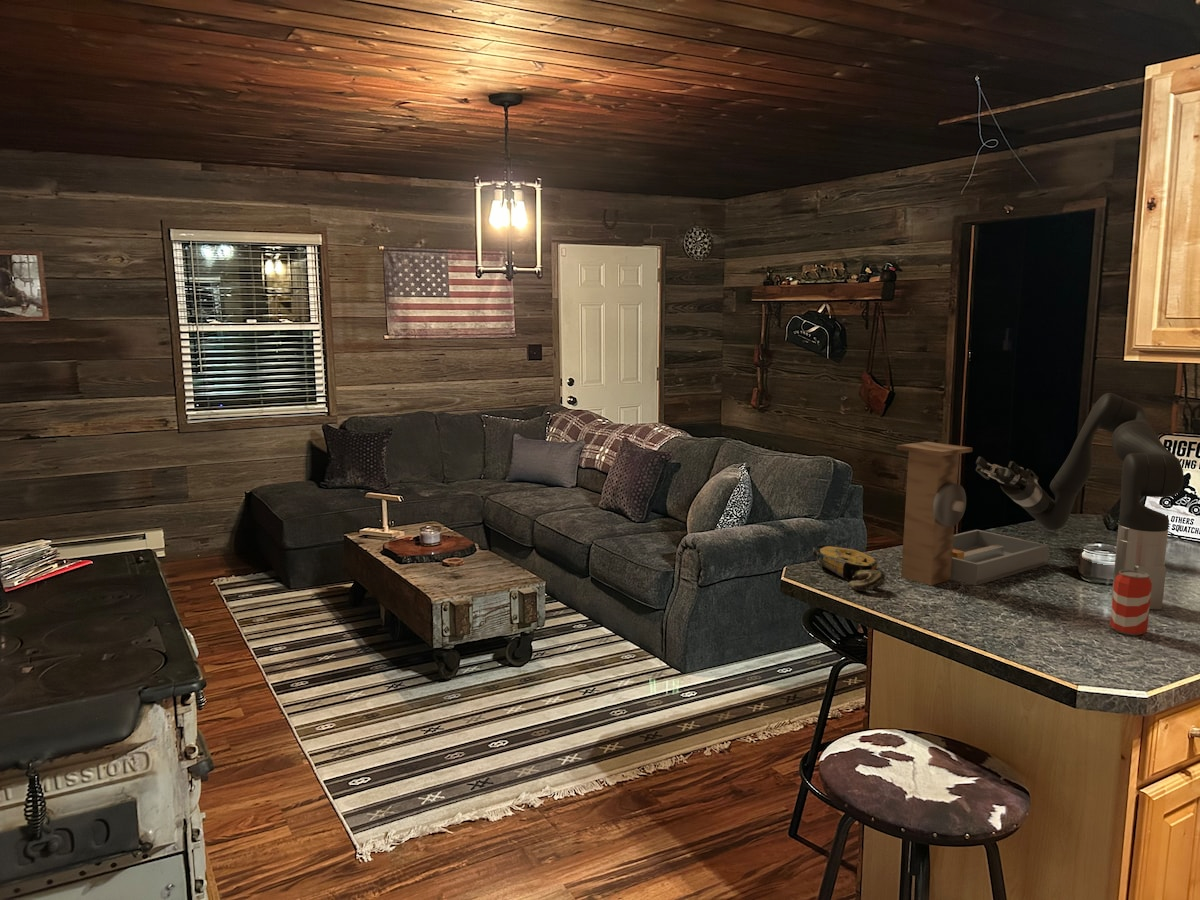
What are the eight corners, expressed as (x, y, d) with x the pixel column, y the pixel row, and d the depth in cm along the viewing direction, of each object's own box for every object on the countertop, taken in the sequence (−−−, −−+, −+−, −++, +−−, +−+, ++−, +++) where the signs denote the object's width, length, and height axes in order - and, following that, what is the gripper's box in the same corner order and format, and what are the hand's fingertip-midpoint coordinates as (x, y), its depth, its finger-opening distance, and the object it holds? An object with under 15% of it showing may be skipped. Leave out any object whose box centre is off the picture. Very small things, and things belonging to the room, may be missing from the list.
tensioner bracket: (919, 568, 219) (927, 441, 215) (970, 582, 208) (980, 448, 203) (888, 576, 212) (896, 445, 208) (940, 591, 201) (950, 453, 196)
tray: (975, 547, 240) (976, 529, 240) (1047, 564, 224) (1049, 545, 223) (902, 565, 222) (904, 546, 221) (976, 585, 206) (977, 564, 205)
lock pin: (992, 552, 231) (993, 537, 230) (1006, 556, 228) (1007, 541, 227) (941, 565, 219) (942, 549, 218) (956, 569, 215) (957, 553, 215)
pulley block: (842, 567, 197) (811, 535, 227) (837, 592, 198) (807, 557, 228) (904, 578, 197) (865, 544, 227) (898, 602, 198) (861, 565, 228)
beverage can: (1106, 631, 176) (1112, 573, 174) (1115, 623, 181) (1121, 567, 179) (1141, 639, 172) (1147, 579, 170) (1149, 631, 176) (1155, 573, 175)
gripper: (1000, 471, 238) (973, 445, 228) (1053, 479, 226) (1026, 452, 217) (991, 496, 236) (963, 471, 227) (1043, 505, 225) (1016, 479, 216)
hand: (994, 462), depth 222 cm, fingers open, 8 cm apart
